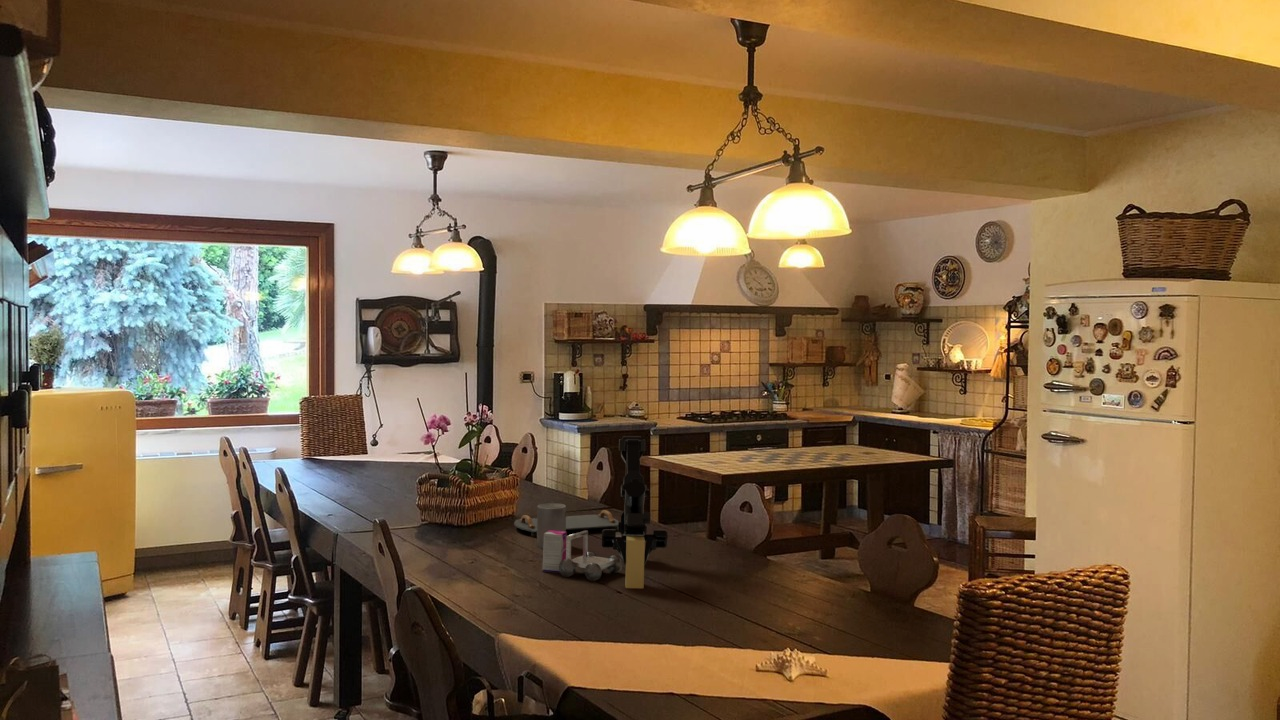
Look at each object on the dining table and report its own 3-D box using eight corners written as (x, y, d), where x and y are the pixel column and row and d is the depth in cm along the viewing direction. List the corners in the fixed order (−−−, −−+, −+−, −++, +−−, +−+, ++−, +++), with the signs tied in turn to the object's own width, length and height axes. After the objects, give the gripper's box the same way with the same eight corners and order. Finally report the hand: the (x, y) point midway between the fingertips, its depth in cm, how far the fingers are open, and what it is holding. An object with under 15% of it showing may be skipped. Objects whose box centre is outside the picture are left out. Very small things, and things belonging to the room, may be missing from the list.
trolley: (583, 566, 292) (583, 528, 292) (622, 573, 285) (623, 533, 285) (558, 575, 280) (559, 536, 280) (599, 582, 274) (599, 541, 273)
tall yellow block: (625, 583, 272) (626, 536, 272) (642, 583, 273) (644, 536, 272) (625, 588, 267) (626, 540, 267) (643, 588, 268) (644, 540, 267)
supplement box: (561, 573, 284) (561, 534, 284) (541, 571, 285) (542, 533, 285) (566, 568, 290) (567, 530, 289) (547, 567, 291) (548, 529, 290)
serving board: (525, 539, 333) (525, 522, 332) (507, 527, 354) (507, 510, 354) (628, 532, 348) (628, 515, 348) (604, 521, 369) (604, 505, 369)
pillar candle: (540, 542, 326) (540, 498, 326) (568, 543, 325) (568, 499, 325) (534, 549, 316) (534, 504, 316) (563, 550, 315) (563, 504, 315)
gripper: (602, 501, 273) (601, 548, 262) (667, 501, 274) (669, 548, 263) (602, 523, 281) (601, 569, 270) (665, 523, 282) (667, 570, 271)
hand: (634, 564), depth 269 cm, fingers closed on tall yellow block, 5 cm apart
